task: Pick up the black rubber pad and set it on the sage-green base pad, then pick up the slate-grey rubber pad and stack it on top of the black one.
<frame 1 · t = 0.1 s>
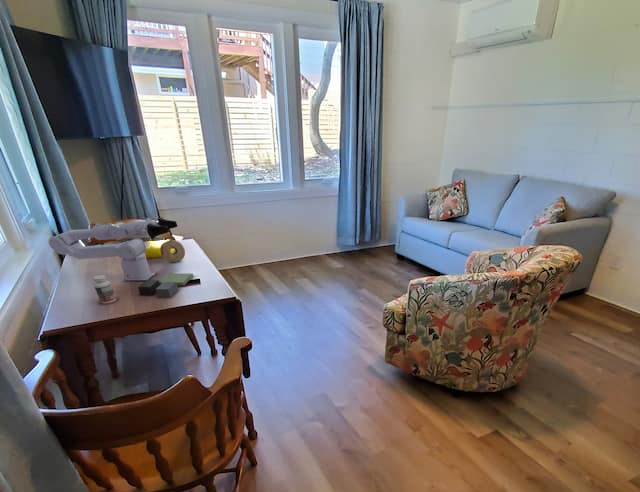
hand: (172, 226, 159), 22 cm above the table, tool horizontal, fingers open, 7 cm apart
stone disc: (175, 261, 188), on the table
pill bottle: (108, 301, 151), on the table
base pad: (177, 280, 167), on the table
black pad: (150, 291, 158), on the table
grey pad: (168, 293, 156), on the table
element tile: (158, 253, 199), on the table
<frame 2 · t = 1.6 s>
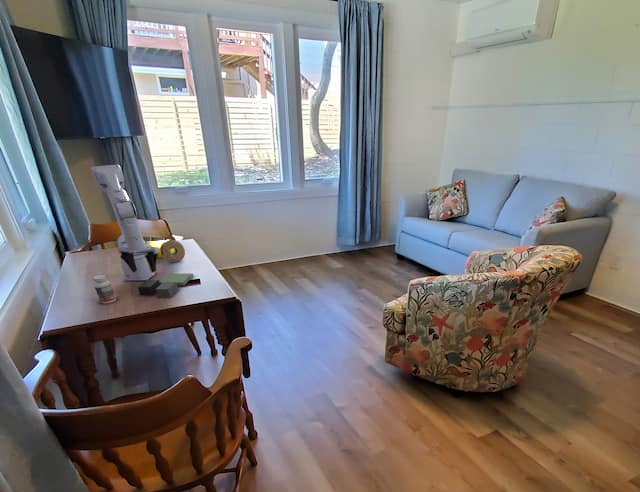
hand: (144, 271, 154), 8 cm above the table, tool pointing down, fingers open, 7 cm apart
nothing on the table moved.
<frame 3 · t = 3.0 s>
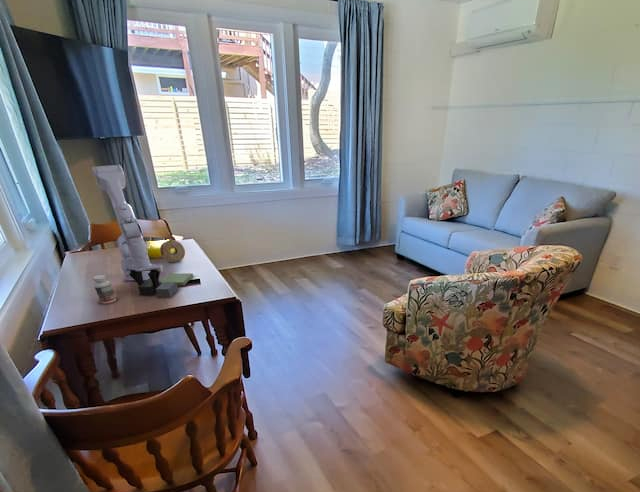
hand: (149, 288, 157), 1 cm above the table, tool pointing down, fingers closed on black pad, 5 cm apart
black pad: (150, 291, 158), on the table, touching gripper
everything else where it was.
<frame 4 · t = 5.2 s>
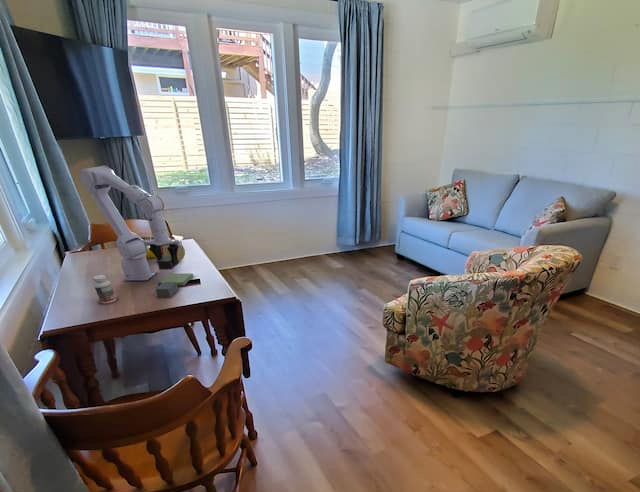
hand: (168, 262, 162), 8 cm above the table, tool pointing down, fingers closed on black pad, 5 cm apart
black pad: (169, 266, 162), point 7 cm above the table, touching gripper
everything else where it was.
when the fingers open (3 cm above the table, at t = 7.3 s): black pad stays where it is, resting on base pad.
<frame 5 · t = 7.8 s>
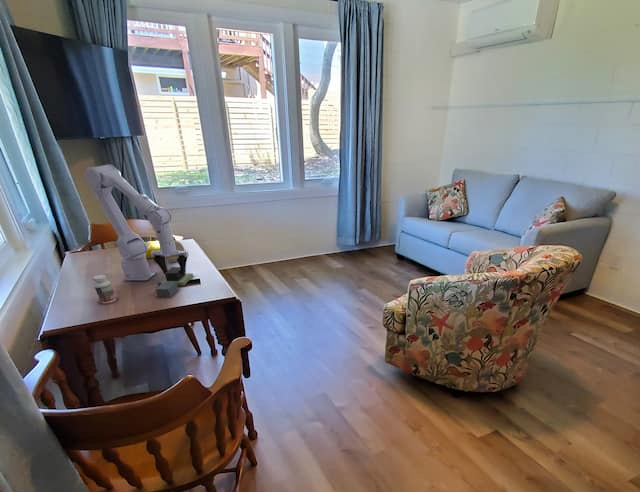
hand: (175, 273, 165), 3 cm above the table, tool pointing down, fingers open, 7 cm apart
base pad: (177, 280, 167), on the table, touching black pad
black pad: (176, 277, 166), point 1 cm above the table, touching base pad
everything else where it was.
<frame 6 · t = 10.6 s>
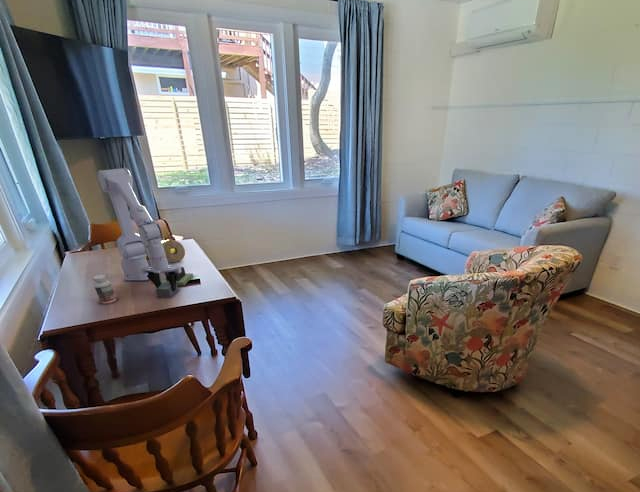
hand: (167, 290, 155), 1 cm above the table, tool pointing down, fingers closed on grey pad, 5 cm apart
grey pad: (168, 293, 156), on the table, touching gripper
everything else where it was.
when the fingers open (6 cm above the table, at t = 14.2 s): grey pad stays where it is, resting on black pad.
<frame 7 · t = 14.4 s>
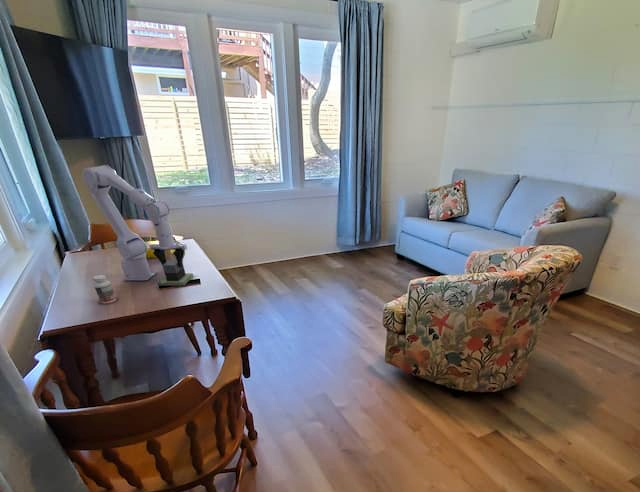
hand: (173, 266, 164), 6 cm above the table, tool pointing down, fingers open, 6 cm apart
black pad: (176, 277, 166), point 1 cm above the table, touching base pad, grey pad
grey pad: (174, 270, 165), point 5 cm above the table, touching black pad
everything else where it was.
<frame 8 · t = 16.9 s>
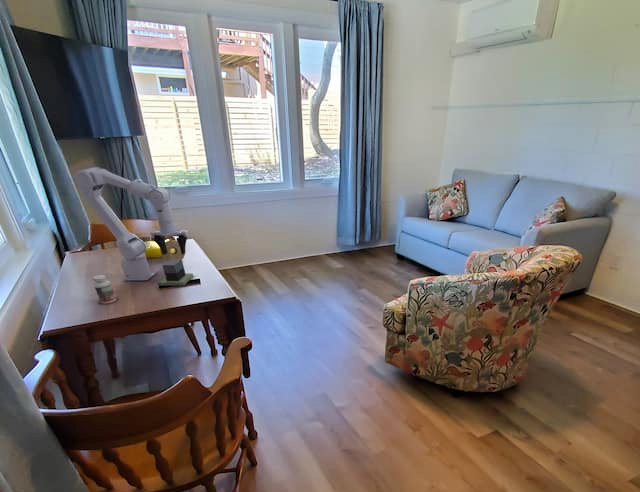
hand: (174, 253, 165), 10 cm above the table, tool pointing down, fingers open, 7 cm apart
nothing on the table moved.
at the end: black pad 0.1 cm off-centre on the base pad, point 1.4 cm above the base pad's base; grey pad 0.1 cm off-centre on the base pad, point 4.8 cm above the base pad's base; grey pad tilted 0° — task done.
